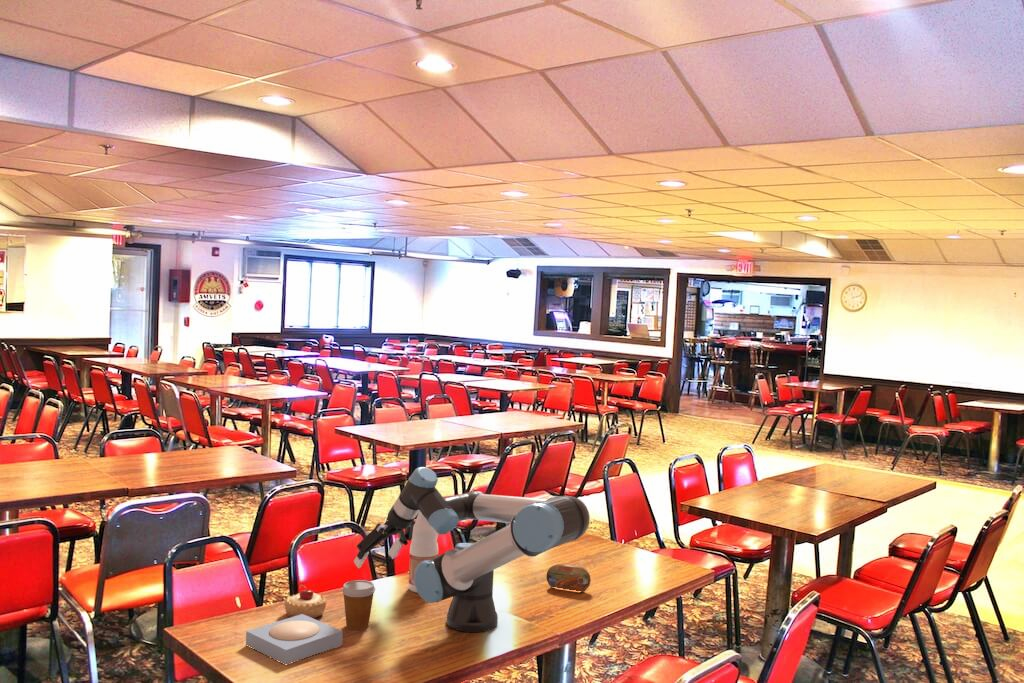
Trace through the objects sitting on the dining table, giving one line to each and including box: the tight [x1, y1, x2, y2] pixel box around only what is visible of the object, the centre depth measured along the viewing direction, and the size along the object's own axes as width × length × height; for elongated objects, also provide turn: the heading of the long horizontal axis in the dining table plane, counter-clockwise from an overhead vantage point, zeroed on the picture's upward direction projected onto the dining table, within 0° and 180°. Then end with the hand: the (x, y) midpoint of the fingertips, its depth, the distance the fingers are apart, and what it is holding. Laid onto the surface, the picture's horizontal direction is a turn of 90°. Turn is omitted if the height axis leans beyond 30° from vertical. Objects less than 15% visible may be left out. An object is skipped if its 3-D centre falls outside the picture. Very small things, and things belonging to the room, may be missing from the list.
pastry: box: [284, 584, 327, 619], centre depth 240 cm, size 12×12×9 cm
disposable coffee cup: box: [341, 579, 376, 631], centre depth 232 cm, size 10×10×12 cm
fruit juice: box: [408, 511, 439, 594], centre depth 266 cm, size 9×9×28 cm
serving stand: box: [245, 614, 344, 665], centre depth 216 cm, size 18×18×4 cm
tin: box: [546, 563, 592, 593], centre depth 270 cm, size 15×3×8 cm, turn 68°
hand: (374, 560), depth 245 cm, fingers open, 13 cm apart
